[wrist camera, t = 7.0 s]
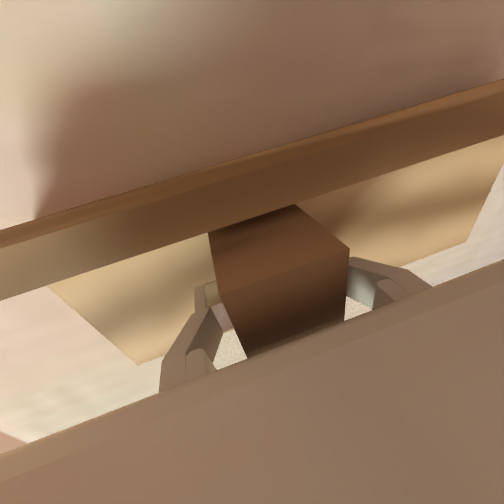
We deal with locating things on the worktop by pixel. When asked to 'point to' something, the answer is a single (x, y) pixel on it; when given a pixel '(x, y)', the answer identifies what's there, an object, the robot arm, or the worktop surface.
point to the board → (344, 213)
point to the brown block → (279, 277)
